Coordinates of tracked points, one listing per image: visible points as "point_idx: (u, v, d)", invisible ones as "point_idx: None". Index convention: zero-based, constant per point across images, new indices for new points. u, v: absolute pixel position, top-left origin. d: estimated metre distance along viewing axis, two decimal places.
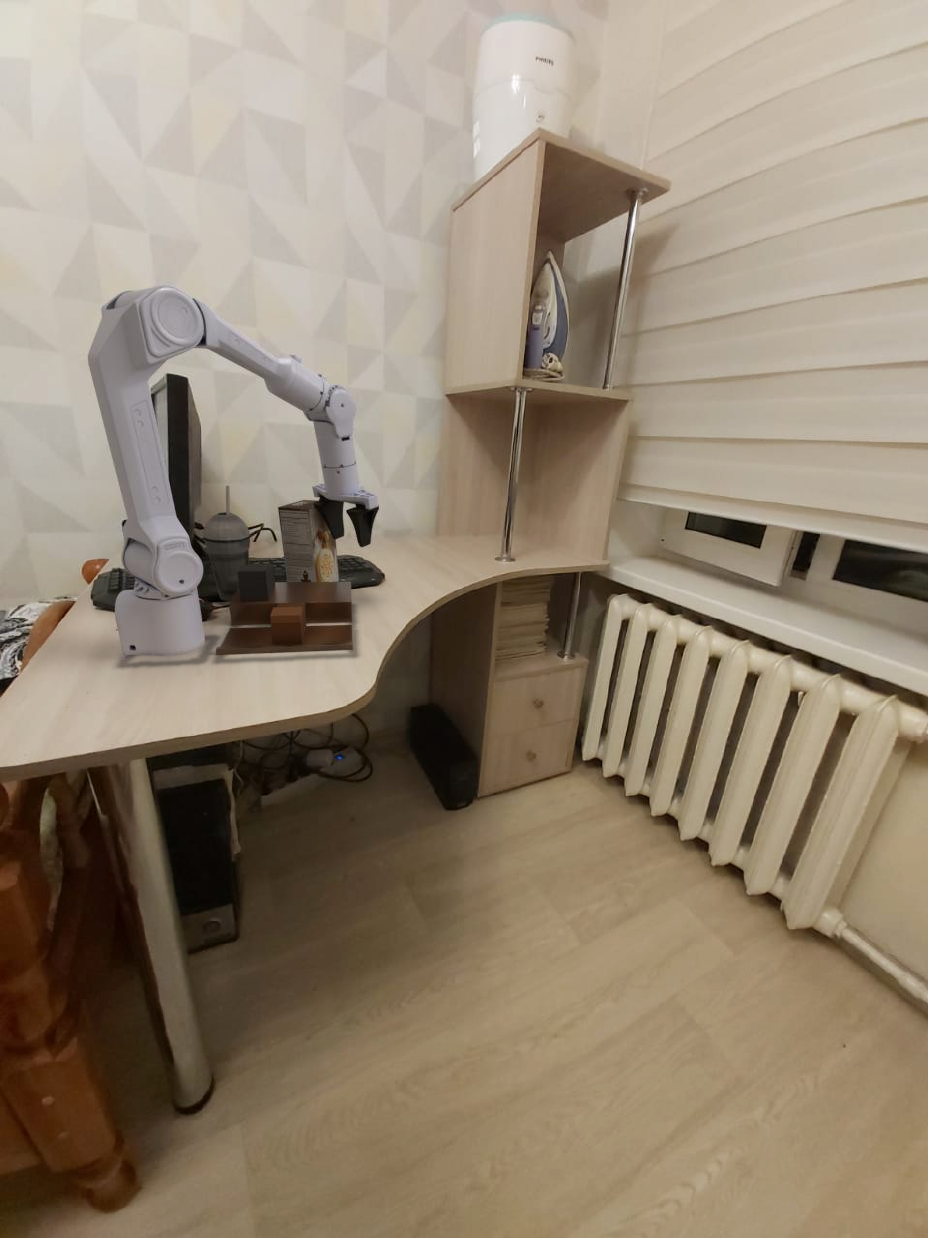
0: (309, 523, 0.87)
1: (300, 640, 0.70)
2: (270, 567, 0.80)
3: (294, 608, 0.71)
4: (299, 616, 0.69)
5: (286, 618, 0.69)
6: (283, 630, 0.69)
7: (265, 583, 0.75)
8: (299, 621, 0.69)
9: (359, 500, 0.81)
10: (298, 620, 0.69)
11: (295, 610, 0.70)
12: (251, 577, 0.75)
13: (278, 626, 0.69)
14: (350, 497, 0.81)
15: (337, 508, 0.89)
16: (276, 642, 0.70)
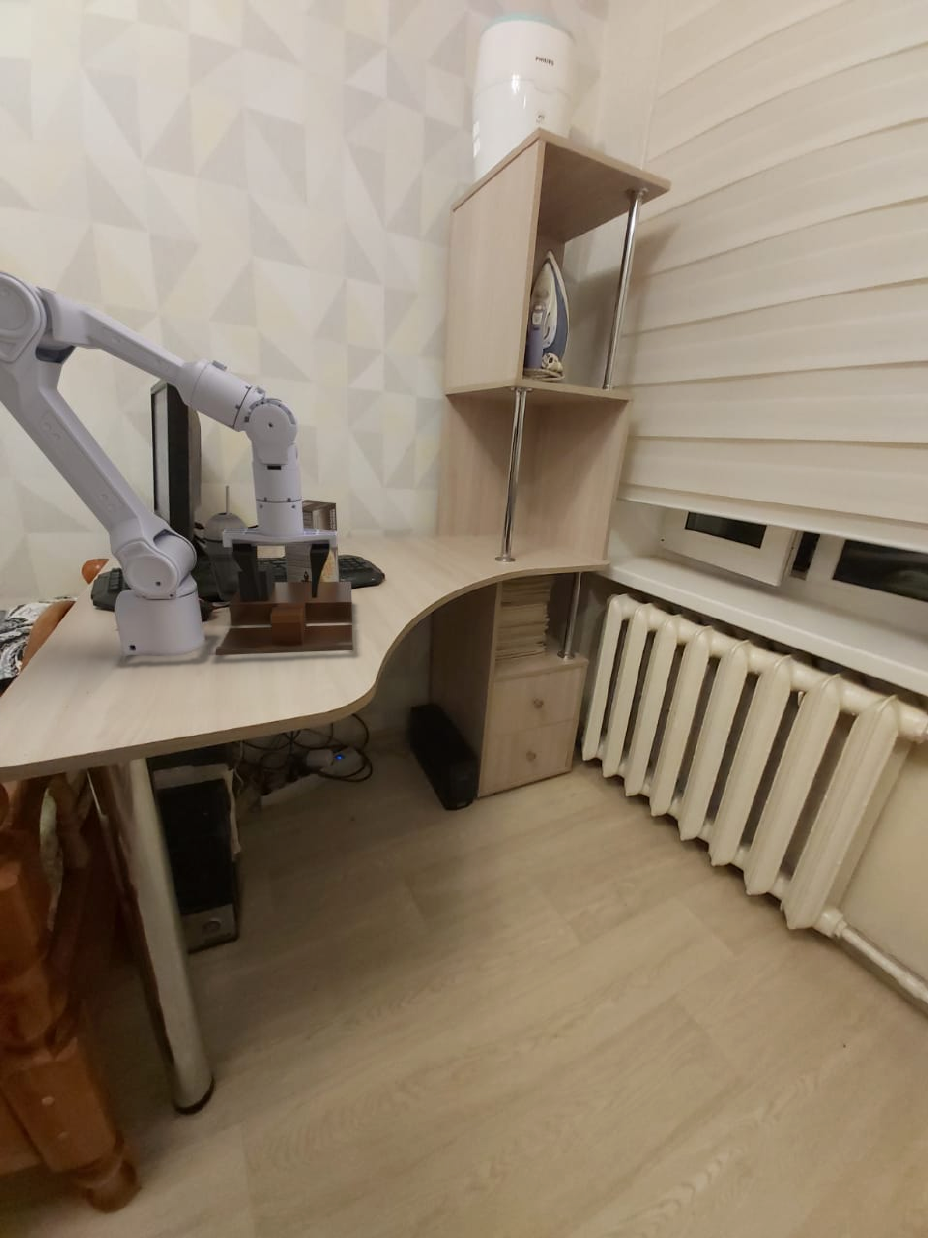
0: (312, 524, 0.87)
1: (300, 640, 0.70)
2: (270, 567, 0.80)
3: (294, 608, 0.71)
4: (299, 616, 0.69)
5: (286, 618, 0.69)
6: (283, 630, 0.69)
7: (265, 583, 0.75)
8: (299, 621, 0.69)
9: (322, 538, 0.67)
10: (298, 620, 0.69)
11: (295, 610, 0.70)
12: None
13: (278, 626, 0.69)
14: (310, 536, 0.66)
15: (256, 558, 0.68)
16: (276, 642, 0.70)
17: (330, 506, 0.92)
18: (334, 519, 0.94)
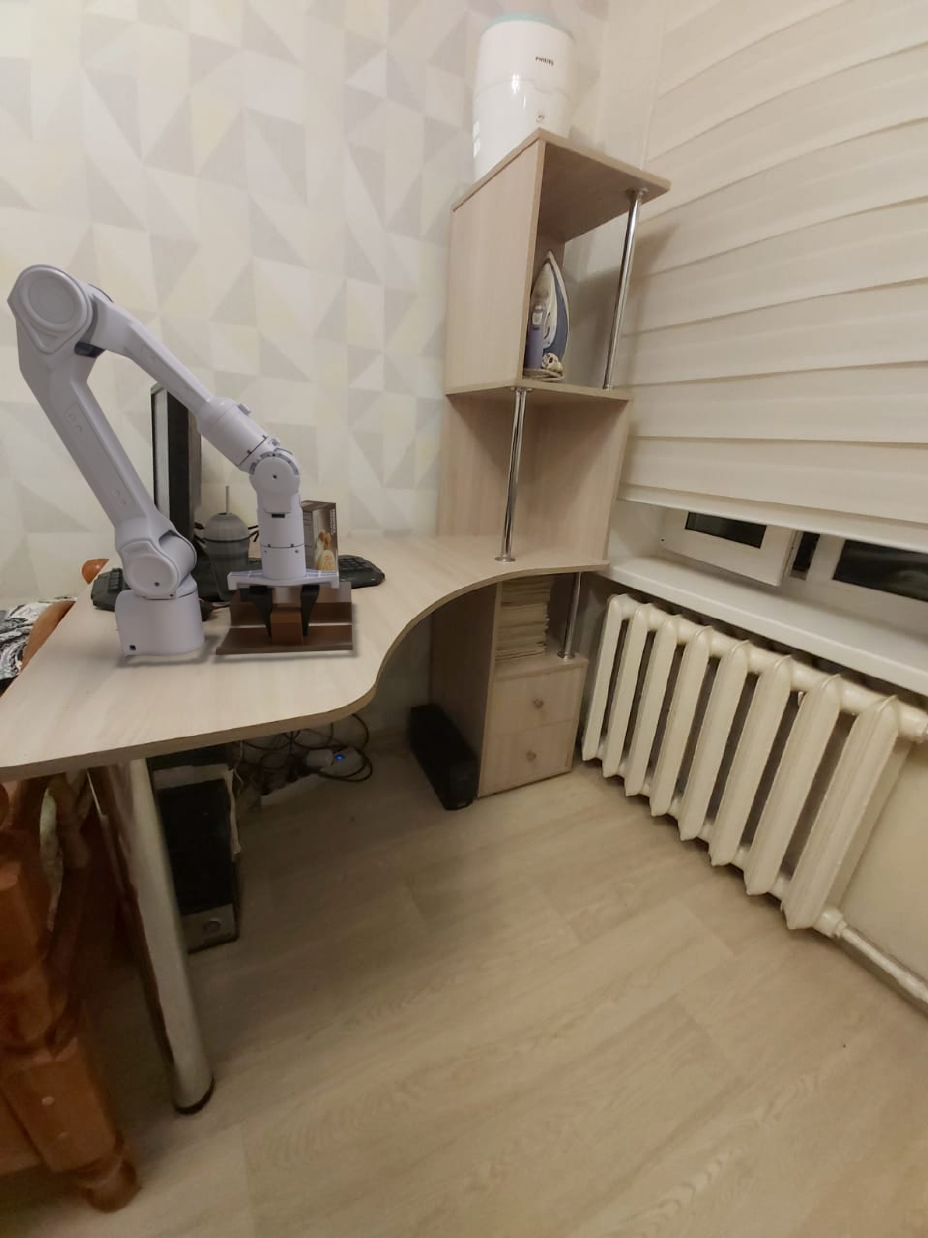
0: (312, 524, 0.87)
1: (300, 640, 0.70)
2: None
3: (294, 608, 0.71)
4: (299, 616, 0.69)
5: (285, 618, 0.69)
6: (282, 630, 0.69)
7: None
8: (299, 621, 0.69)
9: (324, 580, 0.69)
10: (298, 620, 0.69)
11: (295, 610, 0.70)
12: None
13: (277, 626, 0.69)
14: (313, 578, 0.68)
15: (271, 598, 0.71)
16: (276, 642, 0.70)
17: (330, 506, 0.92)
18: (334, 519, 0.94)
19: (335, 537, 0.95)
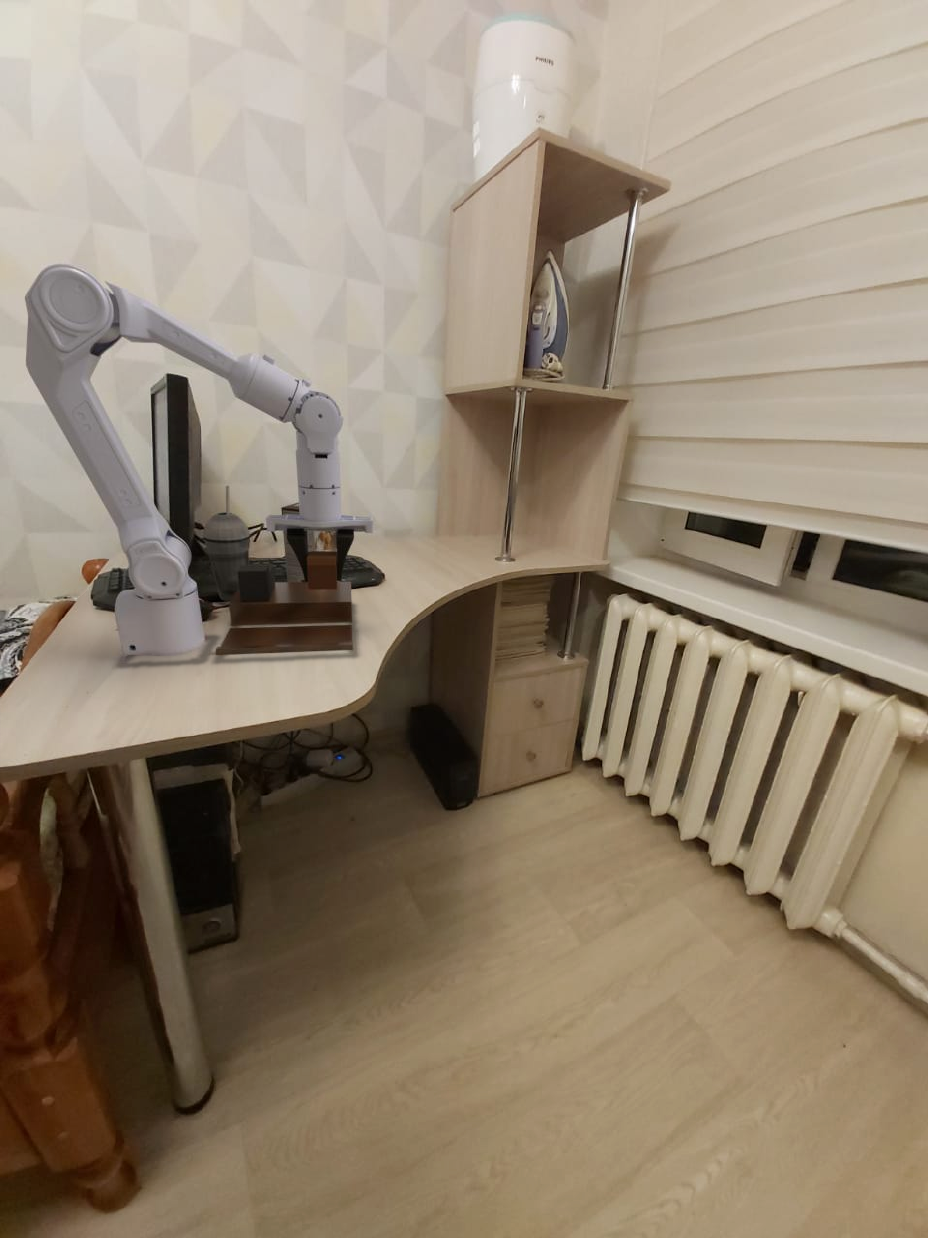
0: None
1: (335, 583, 0.72)
2: (270, 567, 0.80)
3: (329, 552, 0.73)
4: (334, 559, 0.71)
5: (322, 560, 0.70)
6: (318, 573, 0.71)
7: (265, 583, 0.75)
8: (334, 564, 0.71)
9: (359, 524, 0.71)
10: (333, 563, 0.71)
11: (330, 554, 0.72)
12: (251, 577, 0.75)
13: (314, 568, 0.71)
14: (348, 521, 0.70)
15: (306, 543, 0.72)
16: (312, 585, 0.71)
17: None
18: None
19: (335, 537, 0.95)
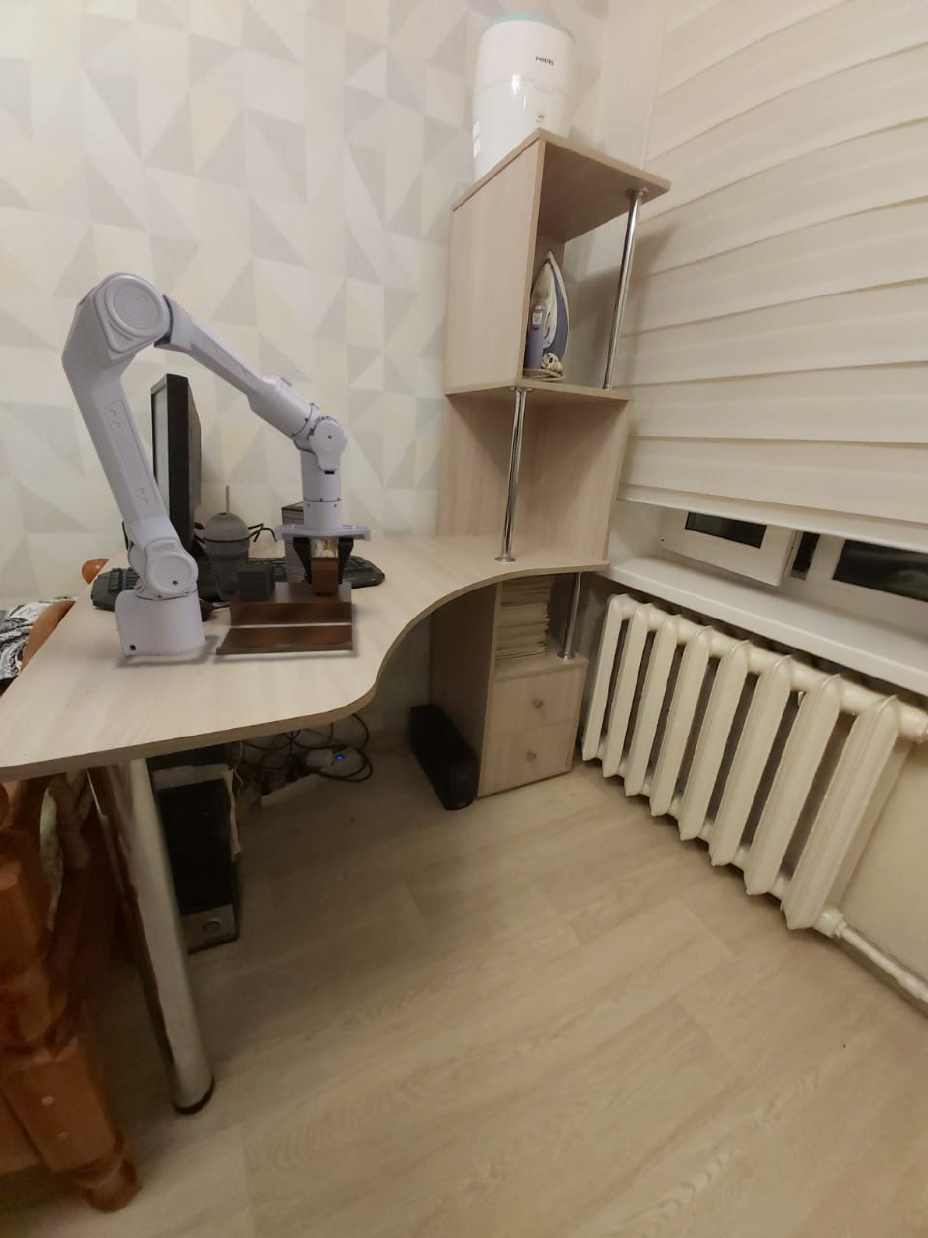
0: None
1: (336, 586, 0.79)
2: (270, 567, 0.80)
3: (331, 558, 0.80)
4: (336, 564, 0.78)
5: (324, 566, 0.78)
6: (321, 577, 0.78)
7: (265, 583, 0.75)
8: (336, 569, 0.78)
9: (358, 533, 0.78)
10: (335, 568, 0.78)
11: (332, 560, 0.79)
12: (251, 577, 0.75)
13: (317, 573, 0.78)
14: (349, 531, 0.77)
15: (310, 550, 0.80)
16: (315, 588, 0.79)
17: None
18: None
19: None
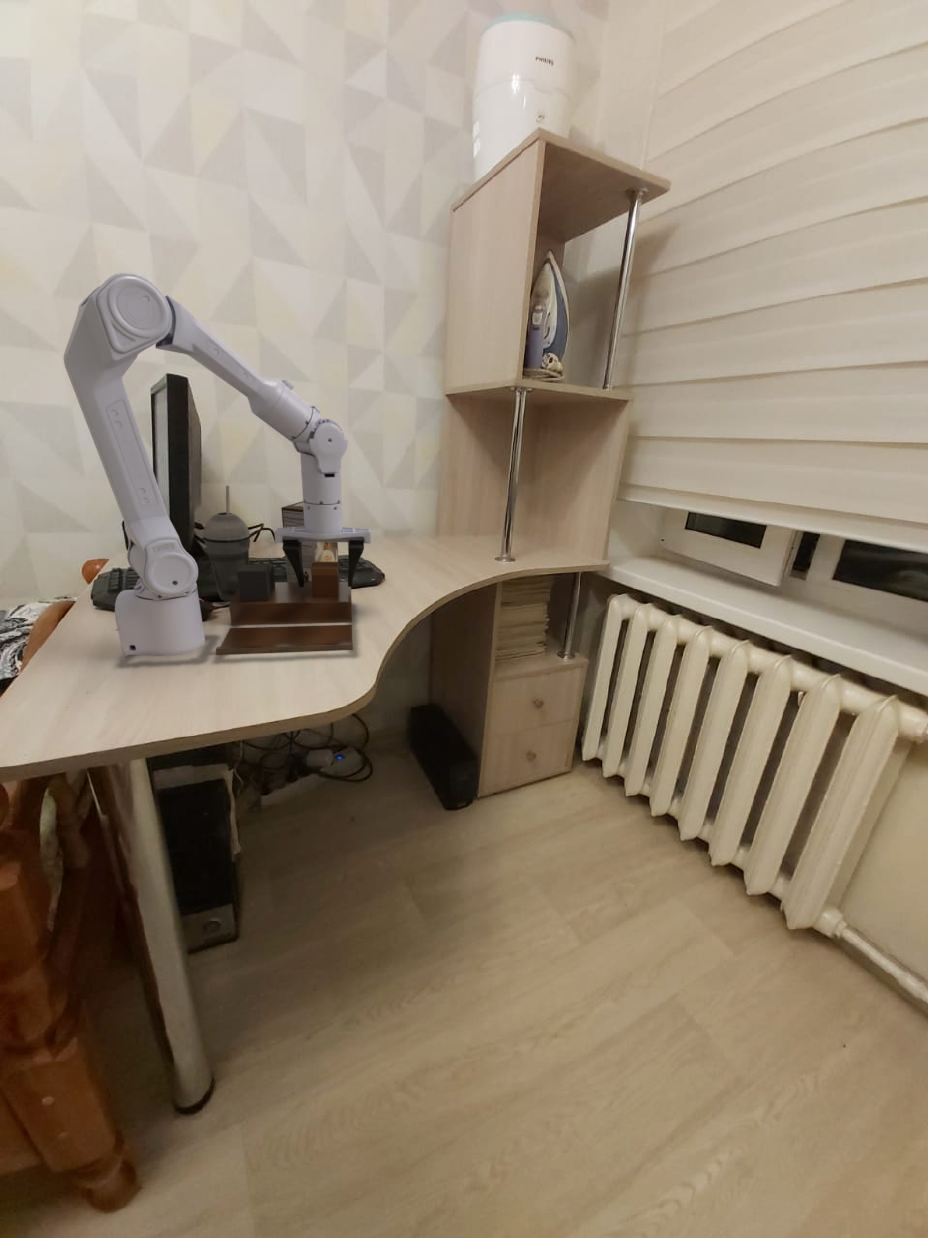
0: None
1: (336, 591, 0.80)
2: (270, 567, 0.80)
3: (331, 563, 0.80)
4: (336, 569, 0.78)
5: (325, 571, 0.78)
6: (322, 582, 0.79)
7: (265, 583, 0.75)
8: (336, 574, 0.79)
9: (358, 535, 0.78)
10: (335, 573, 0.78)
11: (332, 565, 0.80)
12: (251, 577, 0.75)
13: (317, 578, 0.78)
14: (349, 533, 0.77)
15: None
16: (315, 593, 0.79)
17: None
18: None
19: None
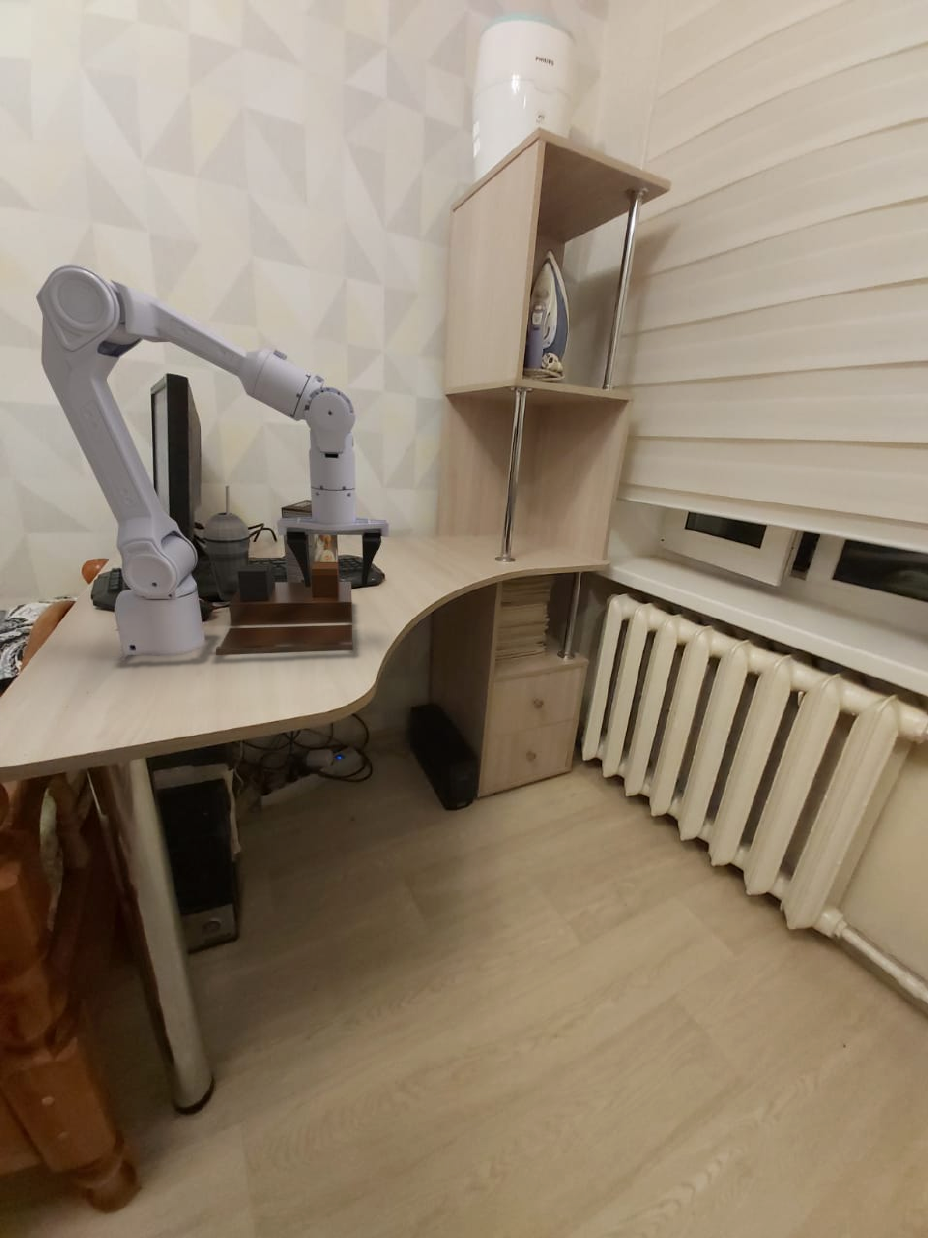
0: None
1: (336, 591, 0.80)
2: (270, 567, 0.80)
3: (331, 563, 0.80)
4: (336, 569, 0.78)
5: (325, 571, 0.78)
6: (322, 582, 0.79)
7: (265, 583, 0.75)
8: (336, 574, 0.79)
9: (375, 527, 0.68)
10: (335, 573, 0.78)
11: (332, 565, 0.80)
12: (251, 577, 0.75)
13: (317, 578, 0.78)
14: (364, 525, 0.67)
15: None
16: (315, 593, 0.79)
17: None
18: None
19: (335, 537, 0.95)
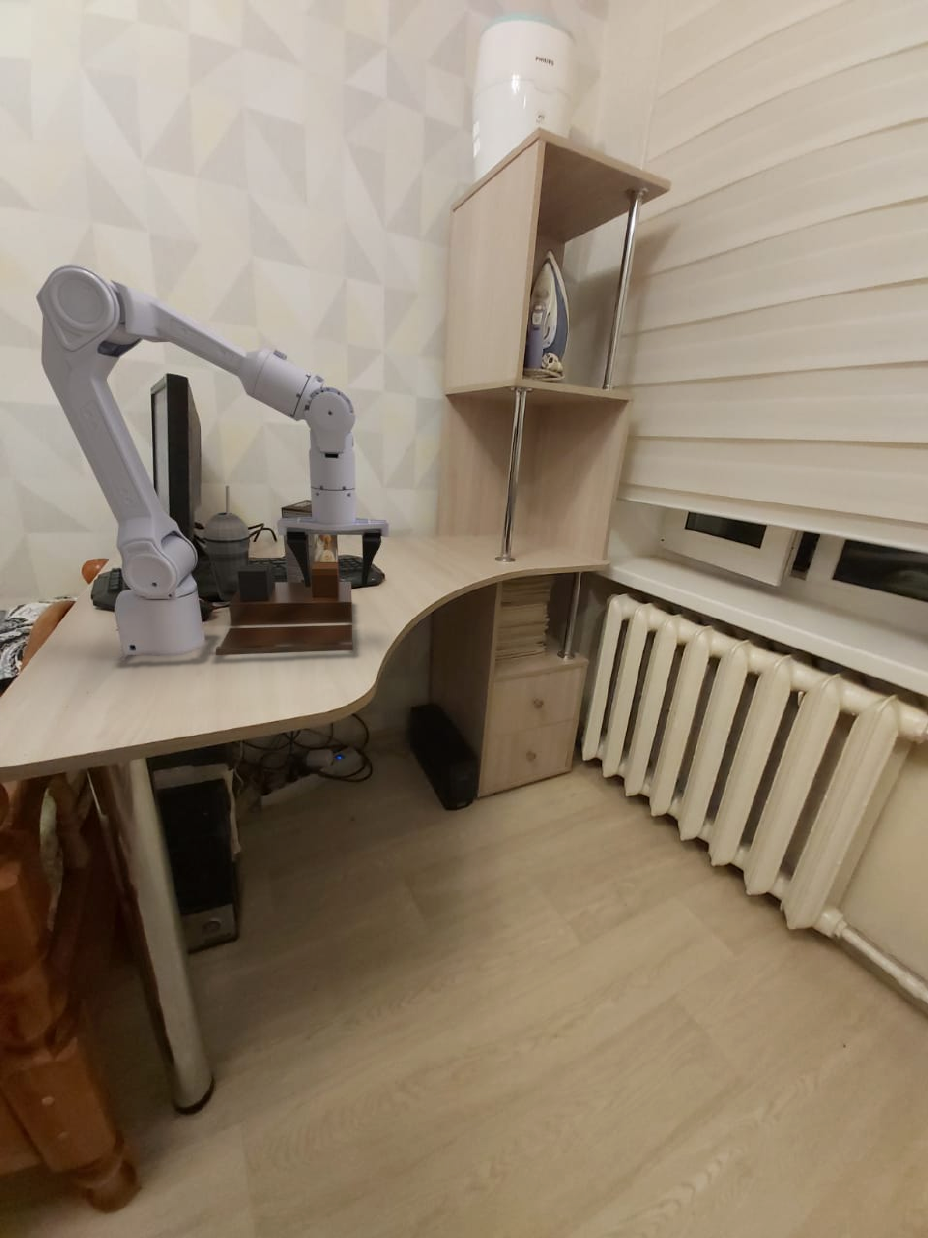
0: None
1: (336, 591, 0.80)
2: (270, 567, 0.80)
3: (331, 563, 0.80)
4: (336, 569, 0.78)
5: (325, 571, 0.78)
6: (322, 582, 0.79)
7: (265, 583, 0.75)
8: (336, 574, 0.79)
9: (375, 527, 0.68)
10: (335, 573, 0.78)
11: (332, 565, 0.80)
12: (251, 577, 0.75)
13: (317, 578, 0.78)
14: (364, 525, 0.67)
15: None
16: (315, 593, 0.79)
17: None
18: None
19: (335, 537, 0.95)
